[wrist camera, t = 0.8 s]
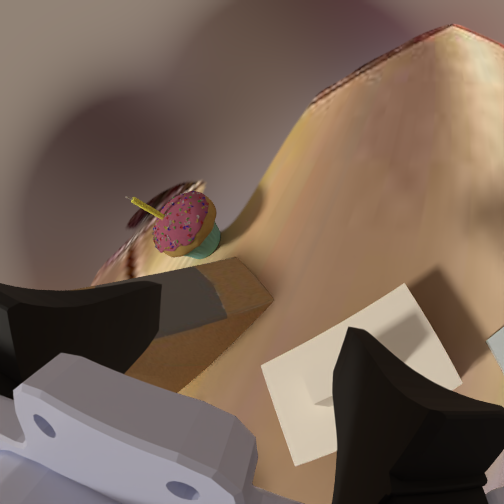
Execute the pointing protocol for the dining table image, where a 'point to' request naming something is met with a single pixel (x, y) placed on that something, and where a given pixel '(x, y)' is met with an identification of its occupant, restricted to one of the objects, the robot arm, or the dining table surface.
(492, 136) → the dining table surface
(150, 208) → the cupcake
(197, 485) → the robot arm
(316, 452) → the lid
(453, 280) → the dining table surface
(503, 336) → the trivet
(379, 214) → the dining table surface
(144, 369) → the sandwich container
